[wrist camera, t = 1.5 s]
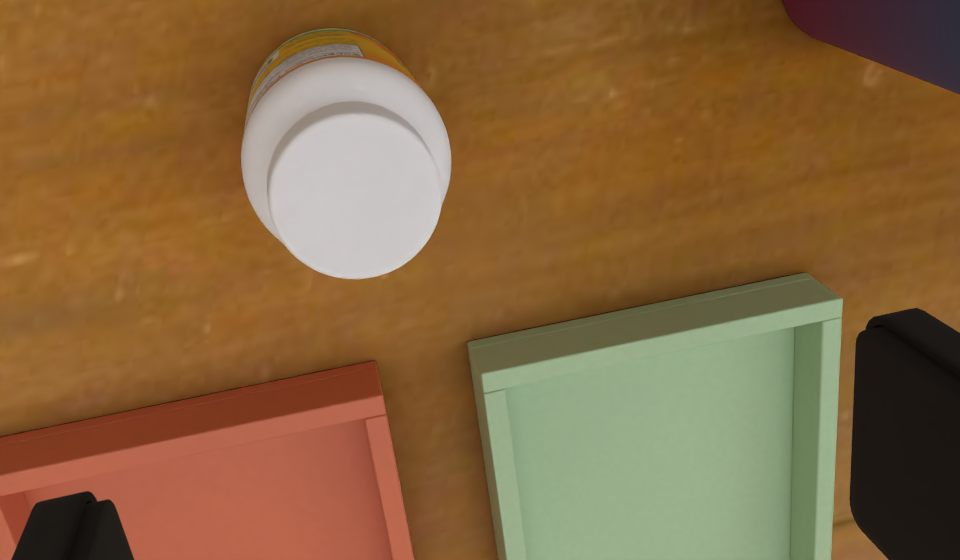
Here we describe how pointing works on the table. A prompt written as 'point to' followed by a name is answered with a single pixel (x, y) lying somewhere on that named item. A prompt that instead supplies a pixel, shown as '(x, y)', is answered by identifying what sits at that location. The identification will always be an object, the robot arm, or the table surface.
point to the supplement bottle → (344, 154)
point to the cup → (890, 33)
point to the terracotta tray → (229, 473)
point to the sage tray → (667, 428)
